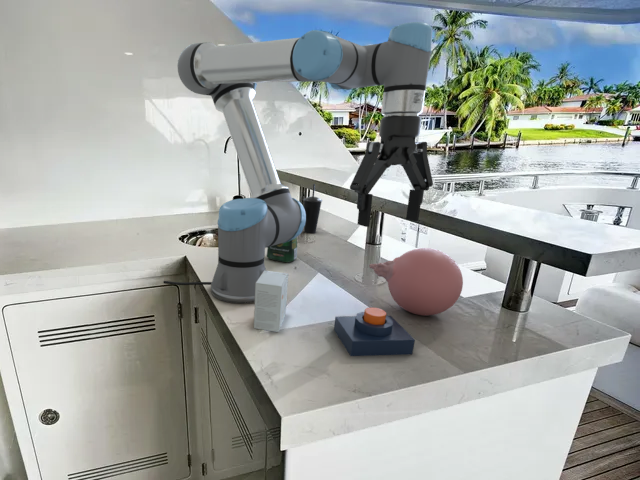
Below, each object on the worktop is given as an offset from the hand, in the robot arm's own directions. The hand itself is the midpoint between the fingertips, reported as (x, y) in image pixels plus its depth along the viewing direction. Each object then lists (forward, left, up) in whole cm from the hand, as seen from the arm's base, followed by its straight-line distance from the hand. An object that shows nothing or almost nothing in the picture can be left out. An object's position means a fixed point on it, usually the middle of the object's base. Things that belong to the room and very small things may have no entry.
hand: (388, 222), depth 81 cm
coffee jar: (-14, +41, -22) cm, 48 cm away
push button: (-6, -12, -22) cm, 25 cm away
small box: (-25, -3, -22) cm, 33 cm away
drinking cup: (+5, +77, -22) cm, 80 cm away
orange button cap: (-6, -12, -17) cm, 22 cm away
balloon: (+9, +2, -22) cm, 23 cm away
